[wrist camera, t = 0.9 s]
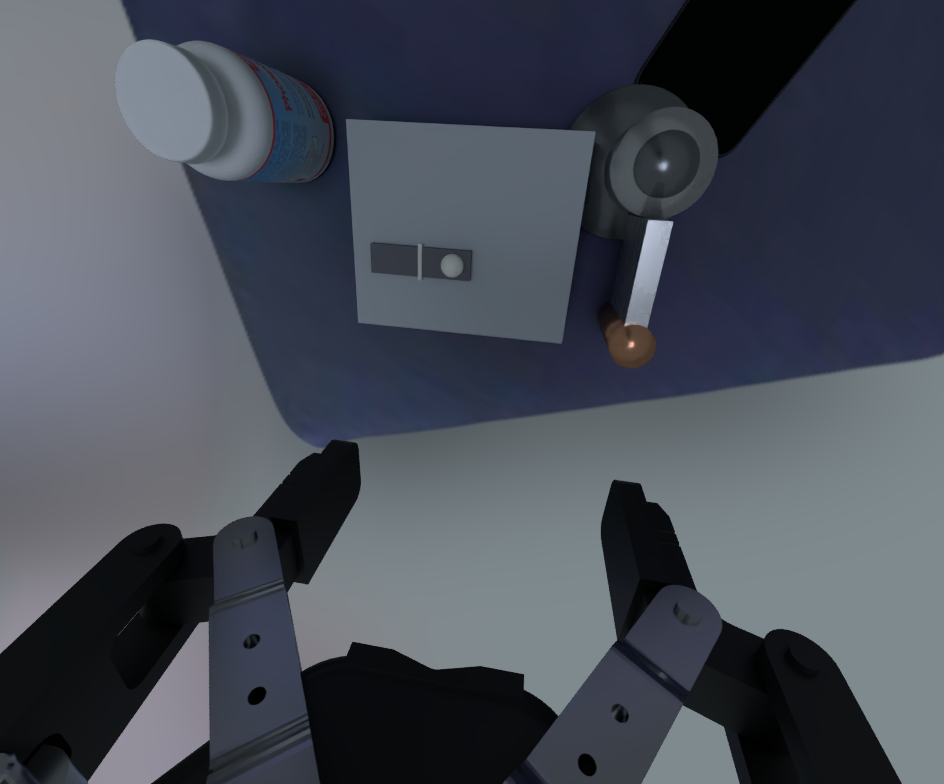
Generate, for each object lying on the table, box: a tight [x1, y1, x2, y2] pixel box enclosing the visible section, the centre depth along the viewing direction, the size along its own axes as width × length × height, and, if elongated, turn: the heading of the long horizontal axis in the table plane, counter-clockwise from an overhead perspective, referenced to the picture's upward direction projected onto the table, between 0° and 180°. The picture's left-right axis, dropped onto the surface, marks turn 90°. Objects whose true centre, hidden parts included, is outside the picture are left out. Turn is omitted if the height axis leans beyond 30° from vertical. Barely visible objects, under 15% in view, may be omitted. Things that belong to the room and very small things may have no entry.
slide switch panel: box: [346, 119, 595, 344], centre depth 27 cm, size 12×14×6 cm
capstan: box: [570, 84, 718, 368], centre depth 24 cm, size 14×8×8 cm, turn 177°
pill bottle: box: [115, 39, 334, 183], centre depth 24 cm, size 6×6×11 cm
